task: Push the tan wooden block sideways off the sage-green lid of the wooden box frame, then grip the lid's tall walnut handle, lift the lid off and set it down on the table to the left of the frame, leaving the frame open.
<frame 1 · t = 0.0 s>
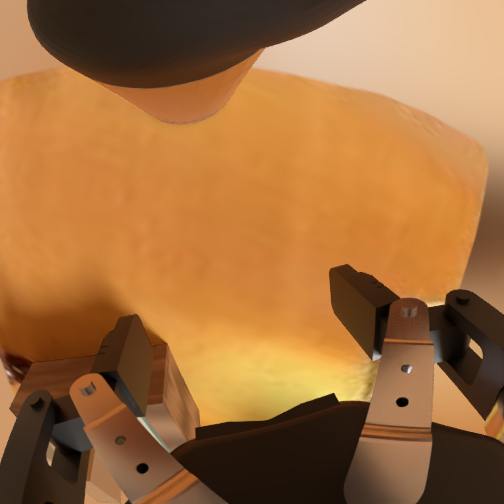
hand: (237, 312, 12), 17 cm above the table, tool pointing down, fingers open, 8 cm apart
wooden box frame: (112, 391, 33), on the table
tan wooden block: (40, 445, 22), point 11 cm above the table, slide at 0.0 cm
lid: (103, 432, 26), point 7 cm above the table, touching wooden box frame
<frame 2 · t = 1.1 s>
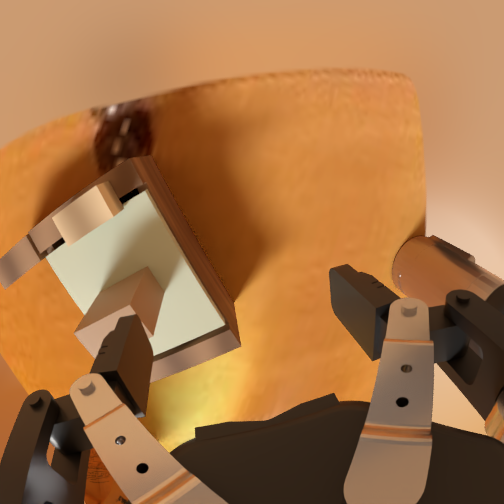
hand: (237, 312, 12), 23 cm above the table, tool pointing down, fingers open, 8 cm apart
wooden box frame: (147, 258, 34), on the table
tan wooden block: (87, 212, 21), point 11 cm above the table, slide at 0.0 cm
coffee package: (121, 438, 46), on the table
lid: (134, 284, 28), point 7 cm above the table, touching wooden box frame
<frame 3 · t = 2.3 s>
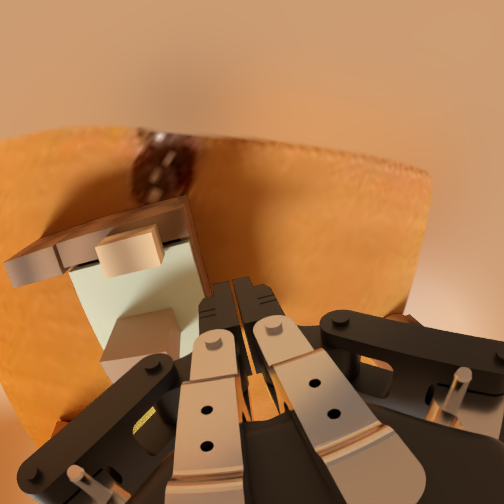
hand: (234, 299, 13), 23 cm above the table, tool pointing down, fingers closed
wooden box frame: (158, 287, 36), on the table
tan wooden block: (131, 250, 23), point 11 cm above the table, slide at 0.0 cm
lid: (150, 316, 29), point 7 cm above the table, touching wooden box frame
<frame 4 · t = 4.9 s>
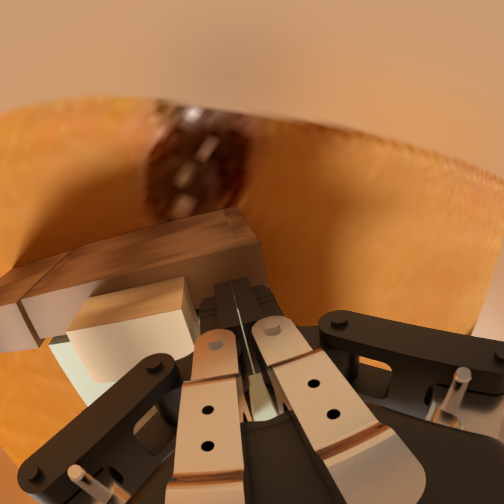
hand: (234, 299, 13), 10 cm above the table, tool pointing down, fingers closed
wooden box frame: (188, 341, 25), on the table
tan wooden block: (137, 331, 12), point 11 cm above the table, slide at 1.1 cm, touching gripper
lid: (187, 400, 18), point 7 cm above the table, touching wooden box frame
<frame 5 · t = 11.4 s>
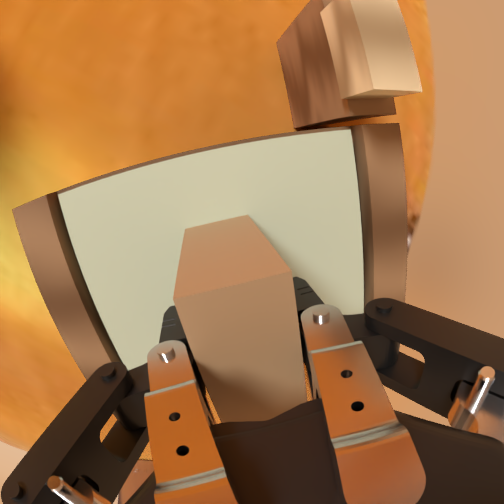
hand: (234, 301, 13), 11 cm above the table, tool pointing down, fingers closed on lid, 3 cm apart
wooden box frame: (218, 232, 23), on the table
tan wooden block: (369, 46, 10), point 11 cm above the table, slide at 11.9 cm
lid: (226, 266, 16), point 7 cm above the table, touching gripper, wooden box frame
when the fingers open (5 cm above the table, at t = 17.7 s): lid stays where it is, on the table.
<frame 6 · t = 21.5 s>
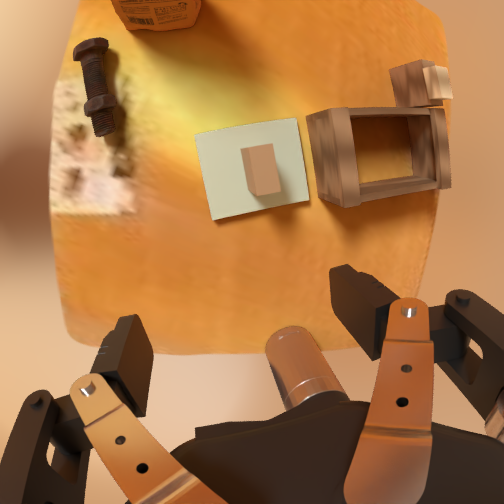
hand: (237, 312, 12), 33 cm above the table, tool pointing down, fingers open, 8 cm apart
wooden box frame: (369, 149, 44), on the table
tan wooden block: (438, 83, 31), point 11 cm above the table, slide at 11.9 cm
bolt: (100, 90, 35), on the table
coffee package: (161, 9, 31), on the table
lid: (252, 166, 43), on the table
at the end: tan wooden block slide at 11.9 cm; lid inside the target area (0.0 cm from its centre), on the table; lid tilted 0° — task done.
